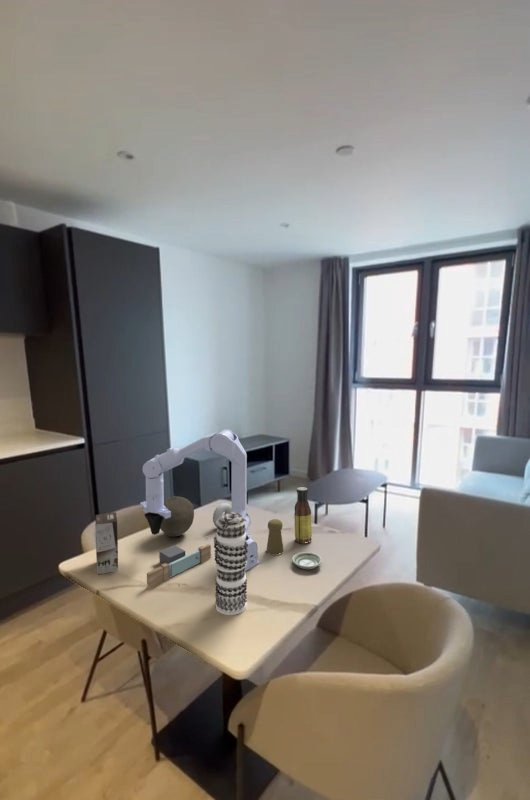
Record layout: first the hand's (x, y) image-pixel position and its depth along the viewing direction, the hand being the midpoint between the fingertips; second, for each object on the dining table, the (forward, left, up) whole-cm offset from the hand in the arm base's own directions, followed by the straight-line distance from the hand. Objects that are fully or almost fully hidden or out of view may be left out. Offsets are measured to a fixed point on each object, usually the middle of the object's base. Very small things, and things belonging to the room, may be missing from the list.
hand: (155, 533), depth 130 cm
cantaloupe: (+8, -15, -8) cm, 19 cm away
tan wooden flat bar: (-14, -1, -8) cm, 16 cm away
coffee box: (+7, +13, -8) cm, 17 cm away
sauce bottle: (-31, -43, -8) cm, 53 cm away
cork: (-28, -30, -8) cm, 42 cm away
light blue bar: (-14, -1, -8) cm, 17 cm away
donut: (0, -32, -8) cm, 33 cm away
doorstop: (-7, -2, -8) cm, 11 cm away
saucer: (-42, -29, -9) cm, 51 cm away
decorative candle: (-38, +2, -8) cm, 39 cm away
